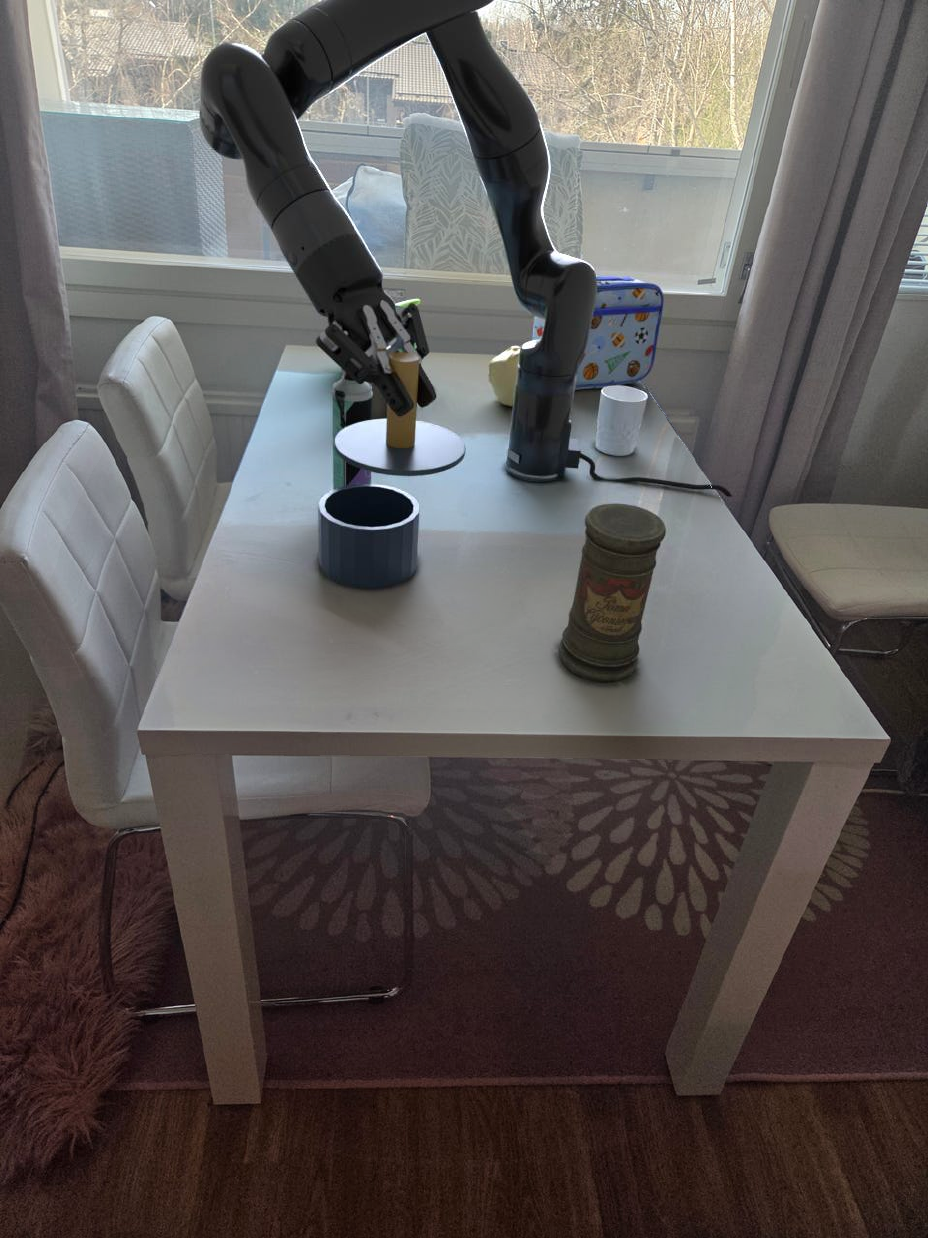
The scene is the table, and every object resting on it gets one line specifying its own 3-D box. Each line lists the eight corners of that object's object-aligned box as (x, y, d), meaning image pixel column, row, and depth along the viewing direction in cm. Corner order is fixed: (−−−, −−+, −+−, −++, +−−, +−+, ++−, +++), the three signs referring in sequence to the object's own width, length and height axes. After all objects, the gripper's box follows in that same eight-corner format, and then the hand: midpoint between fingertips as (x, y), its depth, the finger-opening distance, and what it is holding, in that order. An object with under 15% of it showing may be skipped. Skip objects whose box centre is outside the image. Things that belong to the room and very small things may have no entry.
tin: (418, 543, 118) (421, 487, 113) (413, 592, 108) (417, 533, 103) (326, 536, 118) (325, 480, 113) (313, 585, 107) (311, 525, 103)
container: (552, 636, 102) (574, 499, 92) (625, 637, 103) (656, 501, 93) (566, 683, 95) (592, 540, 85) (645, 683, 96) (680, 542, 86)
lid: (465, 433, 96) (473, 342, 90) (463, 486, 85) (472, 385, 79) (343, 424, 96) (343, 331, 90) (325, 475, 84) (324, 373, 79)
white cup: (609, 460, 147) (619, 403, 141) (583, 442, 153) (592, 387, 147) (645, 454, 150) (657, 399, 145) (619, 437, 156) (629, 383, 150)
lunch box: (541, 397, 170) (556, 281, 158) (517, 379, 178) (529, 267, 166) (654, 386, 181) (677, 277, 169) (626, 370, 189) (646, 264, 176)
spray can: (364, 513, 124) (366, 377, 113) (328, 507, 125) (326, 371, 113) (375, 497, 128) (378, 365, 117) (340, 491, 129) (339, 359, 118)
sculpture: (508, 388, 173) (514, 334, 167) (560, 404, 168) (568, 348, 162) (476, 402, 165) (481, 345, 159) (529, 419, 160) (536, 361, 154)
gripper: (294, 238, 77) (395, 406, 79) (394, 223, 87) (482, 372, 88) (256, 287, 82) (351, 444, 84) (354, 268, 92) (438, 408, 94)
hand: (418, 406), depth 86 cm, fingers closed on lid, 3 cm apart
